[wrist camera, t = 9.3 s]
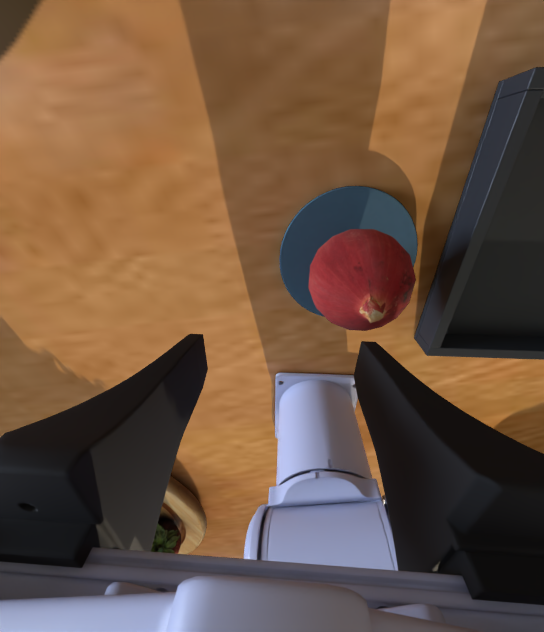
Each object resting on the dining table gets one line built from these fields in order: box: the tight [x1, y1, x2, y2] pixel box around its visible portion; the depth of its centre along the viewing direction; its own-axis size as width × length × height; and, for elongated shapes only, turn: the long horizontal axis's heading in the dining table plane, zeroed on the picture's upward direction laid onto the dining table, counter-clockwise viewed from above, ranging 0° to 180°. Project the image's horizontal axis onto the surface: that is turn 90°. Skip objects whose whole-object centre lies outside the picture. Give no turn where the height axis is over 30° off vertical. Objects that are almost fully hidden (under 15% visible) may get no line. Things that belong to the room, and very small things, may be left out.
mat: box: [280, 186, 418, 317], centre depth 19 cm, size 10×10×1 cm
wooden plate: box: [151, 476, 207, 554], centre depth 37 cm, size 32×32×8 cm
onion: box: [308, 229, 416, 331], centre depth 15 cm, size 6×6×8 cm
